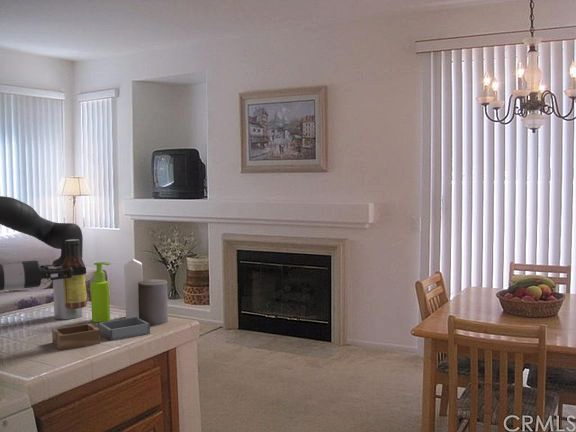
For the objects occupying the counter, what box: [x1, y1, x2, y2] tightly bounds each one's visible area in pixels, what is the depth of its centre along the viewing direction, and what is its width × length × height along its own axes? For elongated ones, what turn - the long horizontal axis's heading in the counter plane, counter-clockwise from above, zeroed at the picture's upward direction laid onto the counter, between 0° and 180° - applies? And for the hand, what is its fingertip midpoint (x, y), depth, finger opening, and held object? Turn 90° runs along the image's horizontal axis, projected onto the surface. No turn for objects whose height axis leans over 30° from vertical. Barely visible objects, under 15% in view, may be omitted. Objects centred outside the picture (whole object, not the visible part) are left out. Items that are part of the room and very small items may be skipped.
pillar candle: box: [138, 277, 169, 326], centre depth 189 cm, size 10×10×15 cm
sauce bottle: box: [63, 239, 88, 309], centre depth 164 cm, size 7×6×20 cm
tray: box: [97, 317, 151, 341], centre depth 176 cm, size 11×12×3 cm
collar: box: [51, 322, 101, 351], centre depth 165 cm, size 10×11×4 cm
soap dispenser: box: [90, 261, 111, 323], centre depth 193 cm, size 6×7×20 cm
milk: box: [123, 253, 144, 319], centre depth 196 cm, size 6×6×22 cm
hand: (82, 269), depth 166 cm, fingers closed on sauce bottle, 6 cm apart
